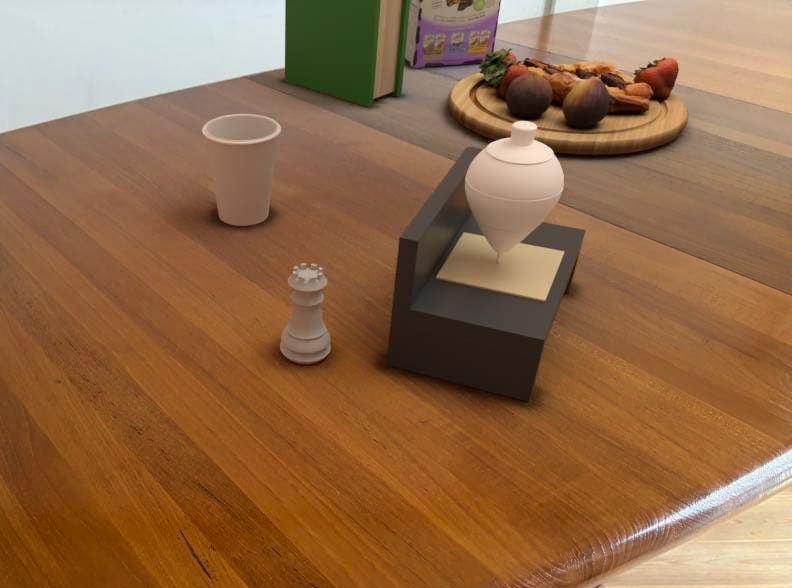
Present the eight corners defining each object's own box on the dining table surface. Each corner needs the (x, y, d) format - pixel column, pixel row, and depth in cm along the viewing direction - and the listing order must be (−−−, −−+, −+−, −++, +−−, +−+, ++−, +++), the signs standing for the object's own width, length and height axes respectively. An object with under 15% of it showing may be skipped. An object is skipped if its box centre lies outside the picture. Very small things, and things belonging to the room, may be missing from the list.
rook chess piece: (334, 365, 70) (339, 282, 65) (282, 368, 70) (283, 286, 65) (326, 335, 73) (330, 256, 68) (277, 338, 73) (277, 258, 68)
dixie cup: (197, 205, 95) (192, 119, 89) (265, 194, 97) (264, 109, 91) (220, 236, 89) (216, 146, 82) (291, 223, 91) (293, 134, 85)
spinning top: (488, 292, 67) (516, 149, 59) (435, 252, 72) (454, 116, 65) (563, 272, 69) (599, 132, 62) (506, 234, 75) (532, 101, 67)
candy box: (478, 53, 140) (495, -56, 130) (492, 63, 136) (510, -49, 125) (401, 58, 139) (411, -52, 128) (412, 68, 134) (424, -45, 124)
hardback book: (401, 95, 124) (418, -89, 109) (368, 107, 120) (382, -82, 105) (317, 70, 134) (322, -101, 119) (284, 80, 130) (286, -95, 115)
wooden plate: (658, 84, 126) (674, 27, 121) (711, 165, 102) (734, 98, 96) (446, 76, 131) (453, 20, 125) (448, 152, 106) (457, 86, 101)
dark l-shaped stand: (571, 286, 79) (602, 167, 72) (529, 402, 65) (562, 269, 58) (449, 261, 84) (466, 146, 76) (385, 365, 70) (399, 237, 62)
